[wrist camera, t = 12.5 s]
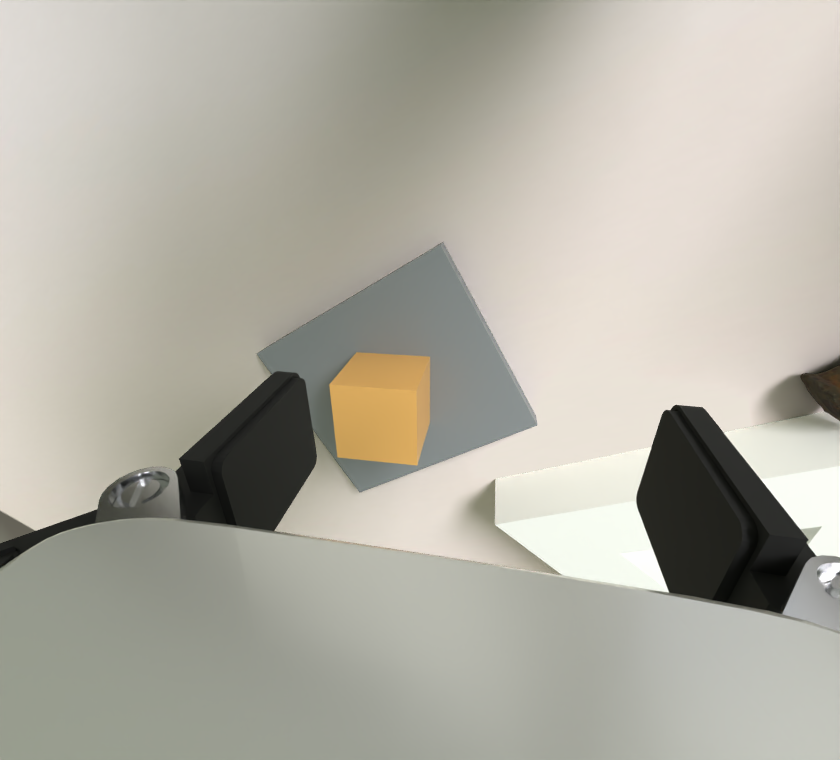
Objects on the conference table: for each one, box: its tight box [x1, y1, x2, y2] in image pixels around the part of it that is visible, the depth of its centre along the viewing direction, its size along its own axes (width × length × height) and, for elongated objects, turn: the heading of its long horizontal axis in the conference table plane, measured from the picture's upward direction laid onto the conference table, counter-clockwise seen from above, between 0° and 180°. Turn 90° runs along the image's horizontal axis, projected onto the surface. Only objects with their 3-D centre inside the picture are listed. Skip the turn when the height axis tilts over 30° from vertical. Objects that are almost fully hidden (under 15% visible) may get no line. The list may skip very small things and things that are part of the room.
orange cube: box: [329, 352, 430, 465], centre depth 31 cm, size 6×6×6 cm
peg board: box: [257, 243, 537, 492], centre depth 33 cm, size 16×18×6 cm
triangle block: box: [495, 412, 840, 593], centre depth 36 cm, size 30×26×6 cm
